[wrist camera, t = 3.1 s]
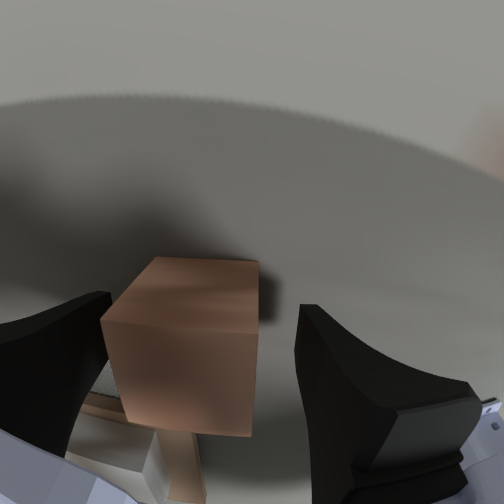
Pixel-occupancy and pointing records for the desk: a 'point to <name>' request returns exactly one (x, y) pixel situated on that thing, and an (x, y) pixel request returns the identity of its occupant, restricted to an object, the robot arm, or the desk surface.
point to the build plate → (172, 448)
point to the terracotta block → (187, 345)
